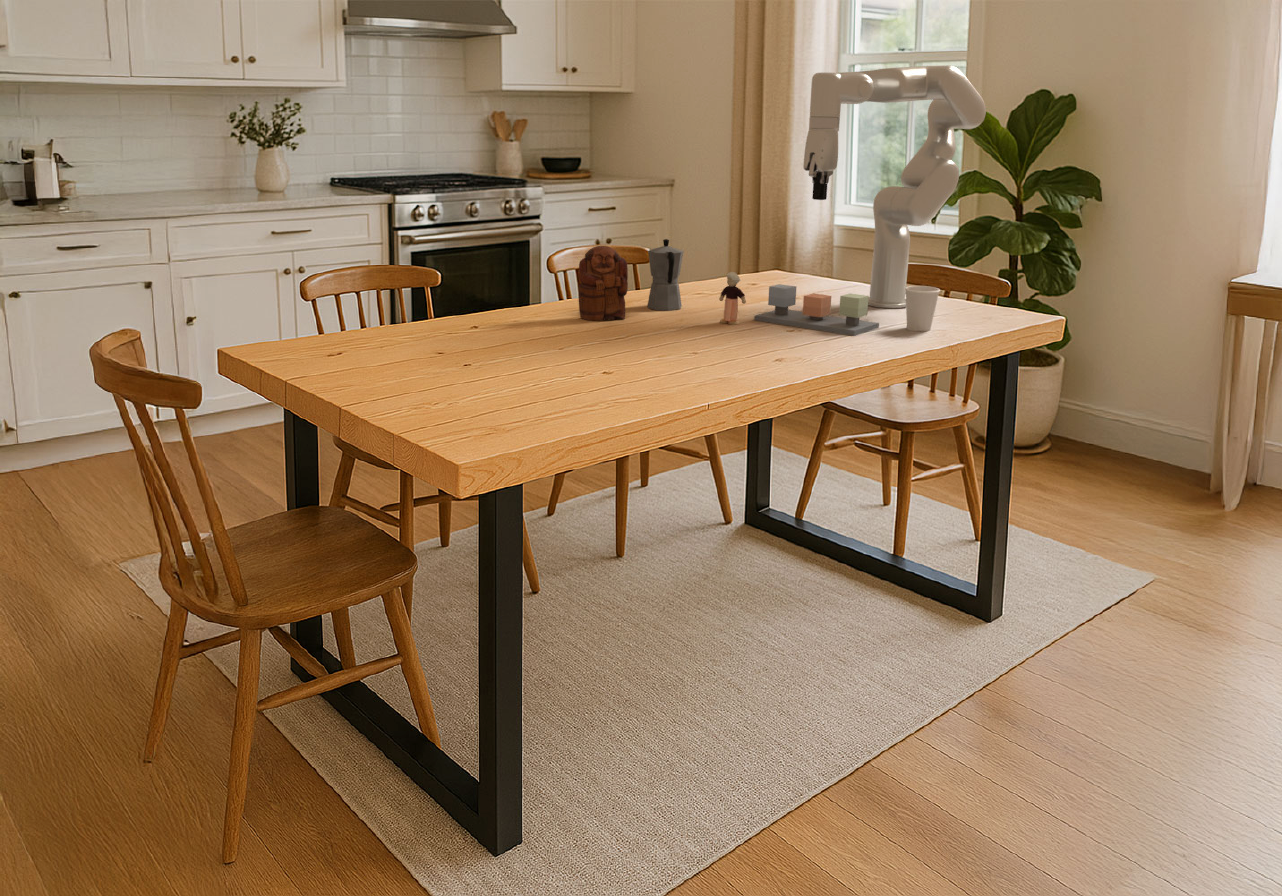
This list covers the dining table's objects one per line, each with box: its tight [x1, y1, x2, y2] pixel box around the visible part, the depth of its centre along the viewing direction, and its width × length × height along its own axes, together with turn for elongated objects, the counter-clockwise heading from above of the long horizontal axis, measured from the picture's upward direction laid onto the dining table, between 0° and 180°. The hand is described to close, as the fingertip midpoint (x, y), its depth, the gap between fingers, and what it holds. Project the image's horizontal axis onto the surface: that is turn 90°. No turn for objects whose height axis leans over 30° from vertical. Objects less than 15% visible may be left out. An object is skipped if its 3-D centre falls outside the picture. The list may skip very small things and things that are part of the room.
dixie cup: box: [905, 285, 941, 332], centre depth 266 cm, size 8×8×10 cm
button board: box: [753, 306, 880, 336], centre depth 270 cm, size 13×28×3 cm, turn 52°
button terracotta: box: [802, 293, 832, 317], centre depth 269 cm, size 5×5×5 cm
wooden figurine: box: [578, 245, 629, 322], centre depth 269 cm, size 12×6×18 cm, turn 107°
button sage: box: [838, 293, 870, 318], centre depth 263 cm, size 5×5×5 cm
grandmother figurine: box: [719, 271, 747, 325], centre depth 268 cm, size 8×4×13 cm, turn 62°
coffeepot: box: [646, 238, 685, 312], centre depth 284 cm, size 15×9×18 cm, turn 9°
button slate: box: [767, 283, 797, 308], centre depth 275 cm, size 5×5×5 cm
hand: (819, 199), depth 278 cm, fingers closed
